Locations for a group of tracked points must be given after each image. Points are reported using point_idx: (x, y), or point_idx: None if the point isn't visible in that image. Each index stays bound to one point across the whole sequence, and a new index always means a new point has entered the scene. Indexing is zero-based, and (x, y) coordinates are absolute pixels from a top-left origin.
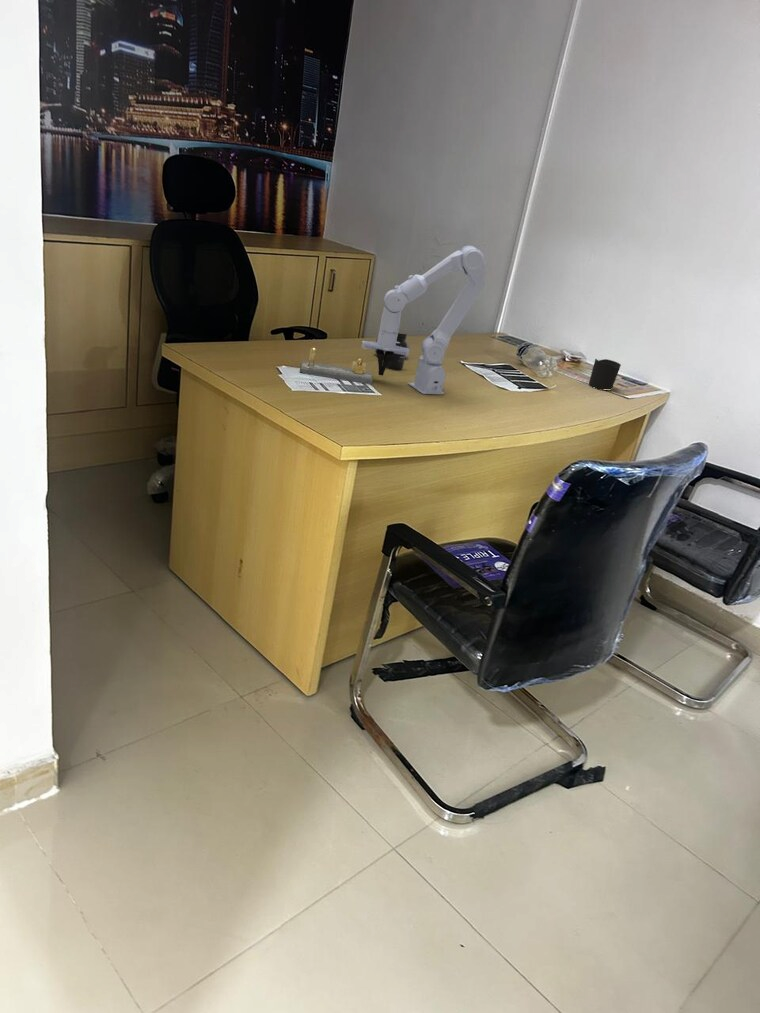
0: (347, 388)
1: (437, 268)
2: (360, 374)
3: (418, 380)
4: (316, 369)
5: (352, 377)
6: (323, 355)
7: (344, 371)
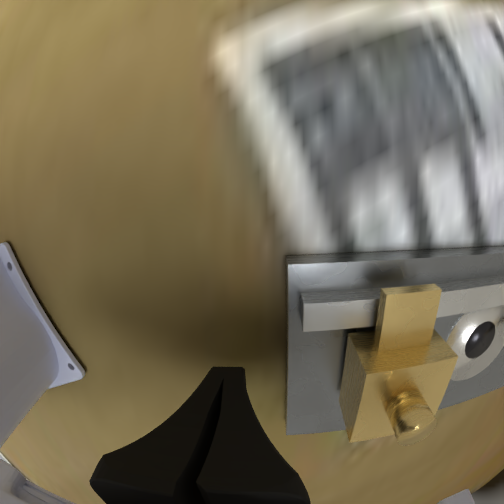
0: (435, 79)
1: None
2: None
3: (11, 331)
4: None
5: (429, 257)
6: (428, 484)
7: (478, 293)
